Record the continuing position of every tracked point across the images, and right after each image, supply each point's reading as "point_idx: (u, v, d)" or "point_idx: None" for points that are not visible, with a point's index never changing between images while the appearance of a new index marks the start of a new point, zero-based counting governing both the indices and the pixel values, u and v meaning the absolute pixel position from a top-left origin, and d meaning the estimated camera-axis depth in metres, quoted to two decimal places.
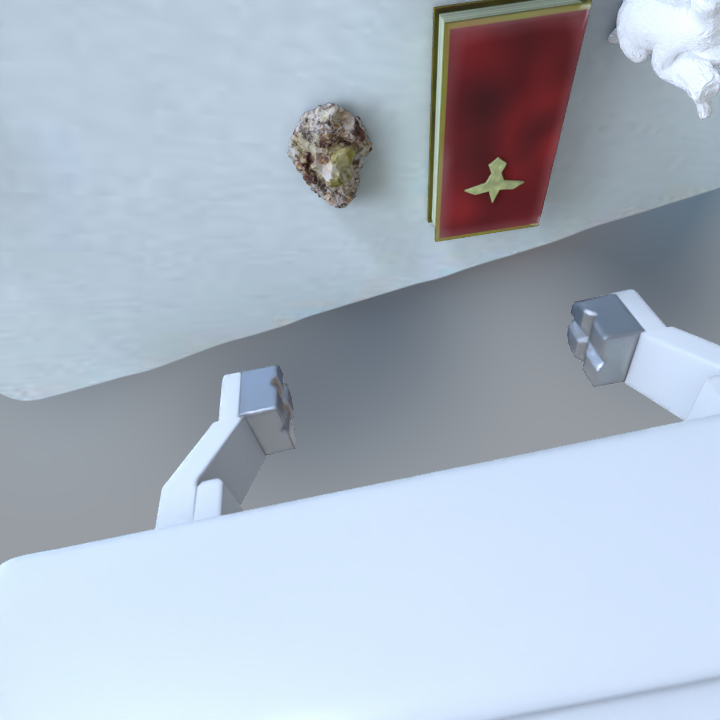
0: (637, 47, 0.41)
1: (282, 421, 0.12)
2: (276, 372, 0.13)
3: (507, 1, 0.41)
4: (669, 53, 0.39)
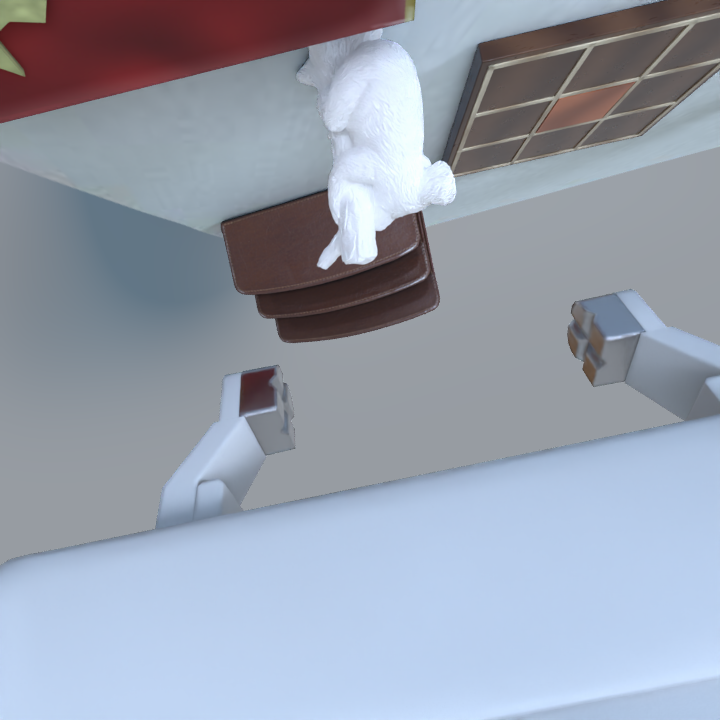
0: (349, 117, 0.25)
1: (282, 421, 0.12)
2: (276, 372, 0.13)
3: None
4: (372, 179, 0.26)
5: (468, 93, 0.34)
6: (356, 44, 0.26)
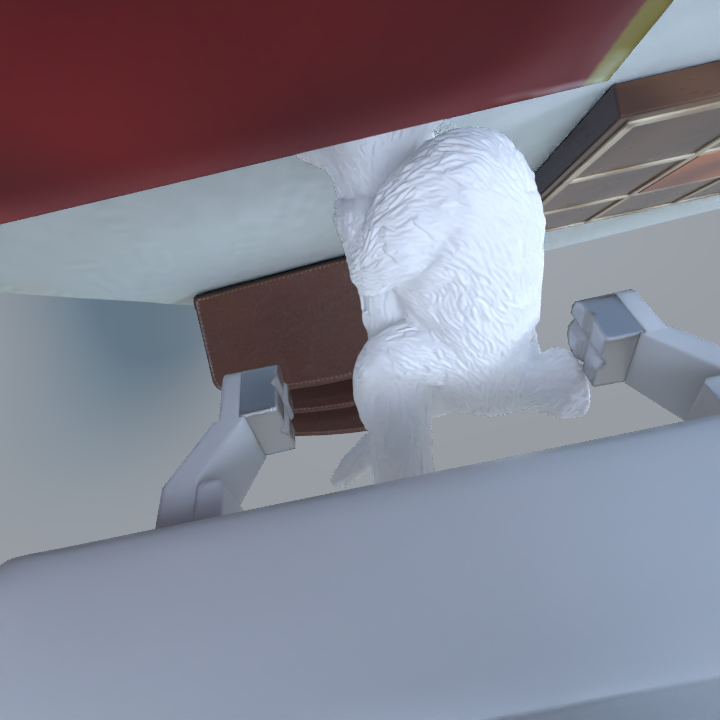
0: (403, 282, 0.13)
1: (282, 421, 0.12)
2: (276, 372, 0.13)
3: None
4: (440, 384, 0.14)
5: (570, 155, 0.21)
6: None
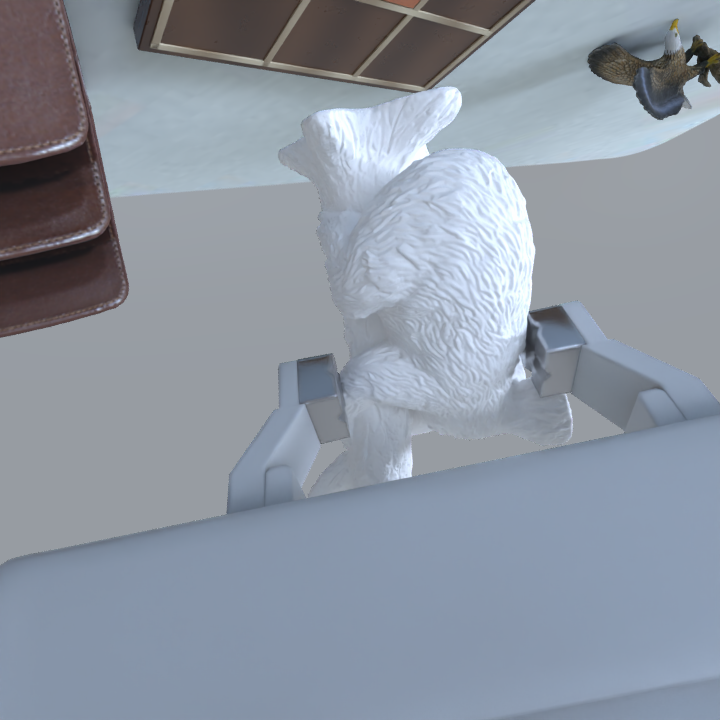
0: (387, 307, 0.12)
1: (341, 409, 0.12)
2: (332, 360, 0.13)
3: None
4: (420, 409, 0.14)
5: None
6: (405, 136, 0.13)
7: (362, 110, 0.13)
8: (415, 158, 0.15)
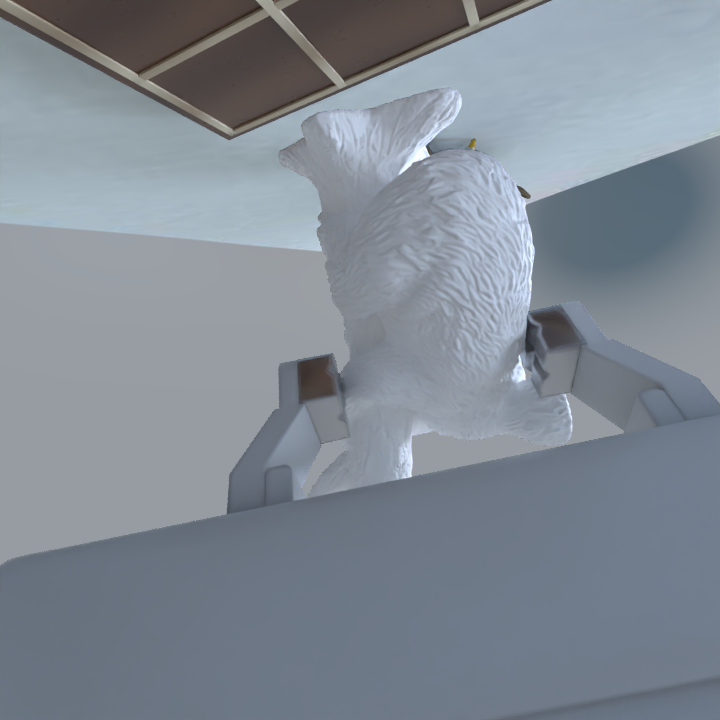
0: (386, 308, 0.12)
1: (341, 409, 0.12)
2: (333, 360, 0.13)
3: None
4: (420, 410, 0.14)
5: None
6: (405, 137, 0.13)
7: (362, 111, 0.13)
8: (415, 159, 0.15)
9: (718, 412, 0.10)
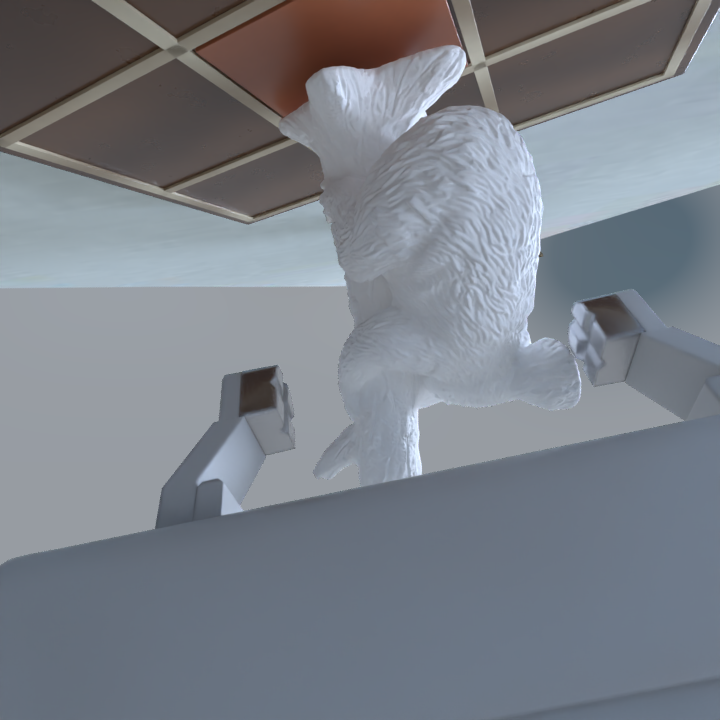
0: (395, 267, 0.12)
1: (282, 421, 0.12)
2: (276, 372, 0.13)
3: None
4: (429, 374, 0.14)
5: None
6: (409, 97, 0.13)
7: (366, 70, 0.12)
8: None
9: None
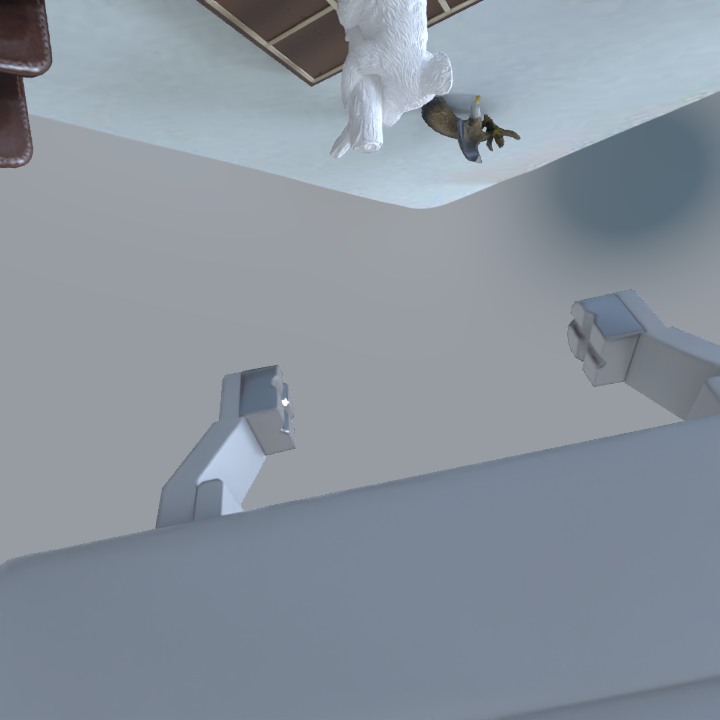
0: (360, 11, 0.29)
1: (282, 421, 0.12)
2: (276, 372, 0.13)
3: None
4: (379, 68, 0.29)
5: None
6: None
7: None
8: None
9: None
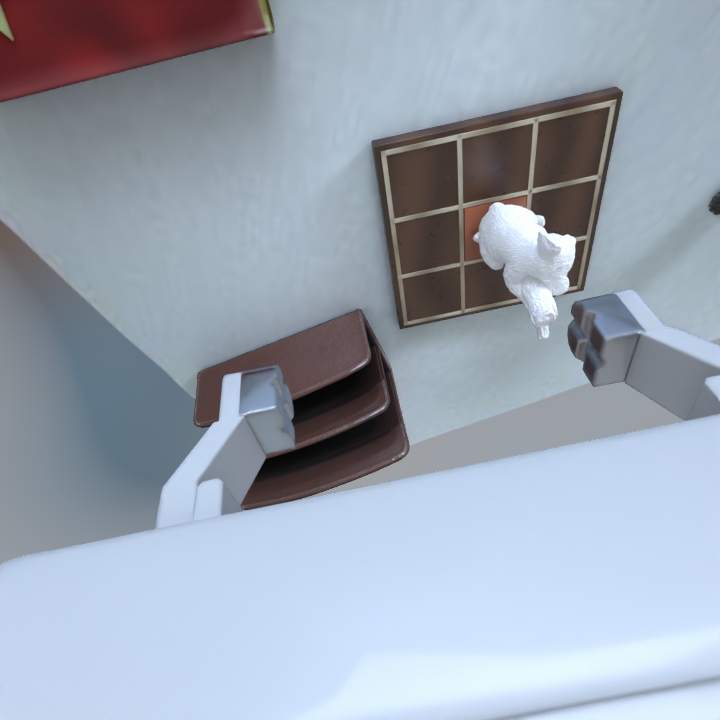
0: (493, 257, 0.42)
1: (282, 421, 0.12)
2: (276, 372, 0.13)
3: None
4: (517, 274, 0.40)
5: (380, 193, 0.43)
6: None
7: None
8: None
9: None
